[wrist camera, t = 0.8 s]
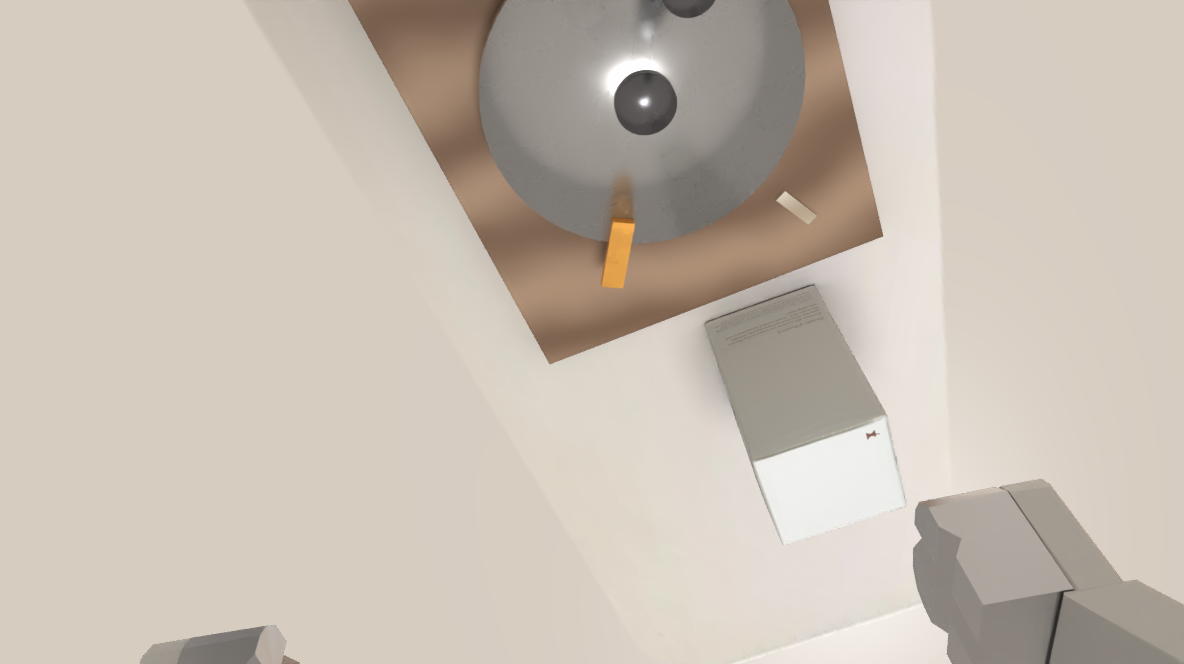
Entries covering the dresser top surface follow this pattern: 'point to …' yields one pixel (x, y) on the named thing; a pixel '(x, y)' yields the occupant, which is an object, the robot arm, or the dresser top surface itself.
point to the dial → (639, 111)
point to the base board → (655, 270)
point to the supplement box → (806, 416)
